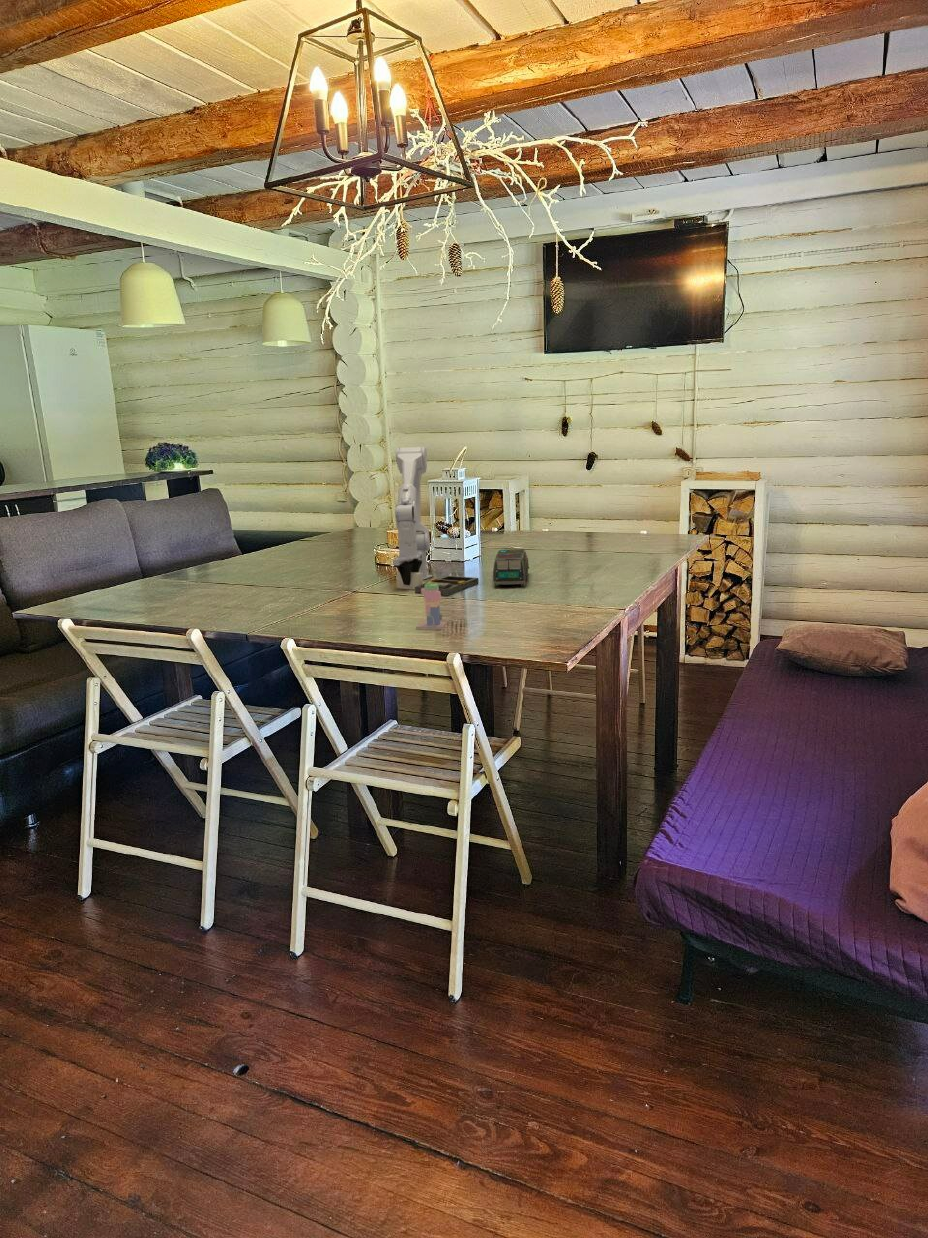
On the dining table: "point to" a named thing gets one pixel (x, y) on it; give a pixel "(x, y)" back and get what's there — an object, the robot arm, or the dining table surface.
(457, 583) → the rack
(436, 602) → the figurine
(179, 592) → the dining table surface
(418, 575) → the tall cream block
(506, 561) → the toy van
